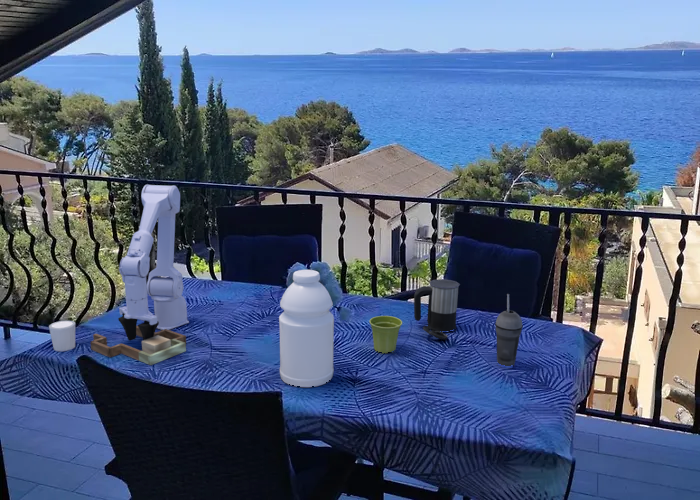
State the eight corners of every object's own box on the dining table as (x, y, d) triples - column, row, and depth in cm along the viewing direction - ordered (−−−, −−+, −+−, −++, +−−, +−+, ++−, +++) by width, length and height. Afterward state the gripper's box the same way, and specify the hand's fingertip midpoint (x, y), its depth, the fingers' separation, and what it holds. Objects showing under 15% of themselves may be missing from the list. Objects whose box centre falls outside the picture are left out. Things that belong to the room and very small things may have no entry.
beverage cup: (504, 372, 166) (510, 301, 161) (486, 362, 172) (491, 293, 167) (525, 367, 169) (531, 297, 164) (506, 357, 175) (512, 289, 171)
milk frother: (448, 321, 203) (451, 277, 199) (472, 339, 189) (475, 292, 185) (408, 325, 199) (410, 281, 195) (429, 344, 184) (431, 296, 181)
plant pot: (405, 346, 182) (407, 318, 180) (394, 358, 174) (395, 329, 172) (376, 341, 186) (377, 313, 184) (363, 352, 178) (364, 324, 176)
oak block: (158, 348, 179) (157, 335, 178) (171, 352, 176) (170, 339, 175) (142, 354, 174) (141, 341, 173) (155, 359, 171) (154, 345, 170)
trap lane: (138, 327, 194) (138, 319, 194) (195, 347, 180) (195, 339, 179) (82, 346, 179) (82, 338, 179) (139, 369, 165) (139, 361, 164)
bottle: (312, 393, 153) (312, 284, 146) (268, 379, 160) (266, 274, 153) (343, 372, 165) (344, 270, 158) (301, 360, 172) (300, 262, 165)
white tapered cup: (67, 353, 175) (65, 329, 173) (45, 350, 176) (43, 327, 174) (82, 343, 181) (80, 321, 179) (61, 341, 182) (59, 319, 181)
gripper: (108, 296, 176) (112, 340, 180) (140, 306, 168) (144, 353, 172) (130, 289, 182) (133, 333, 185) (162, 299, 174) (165, 345, 177)
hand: (140, 342), depth 179 cm, fingers open, 7 cm apart
